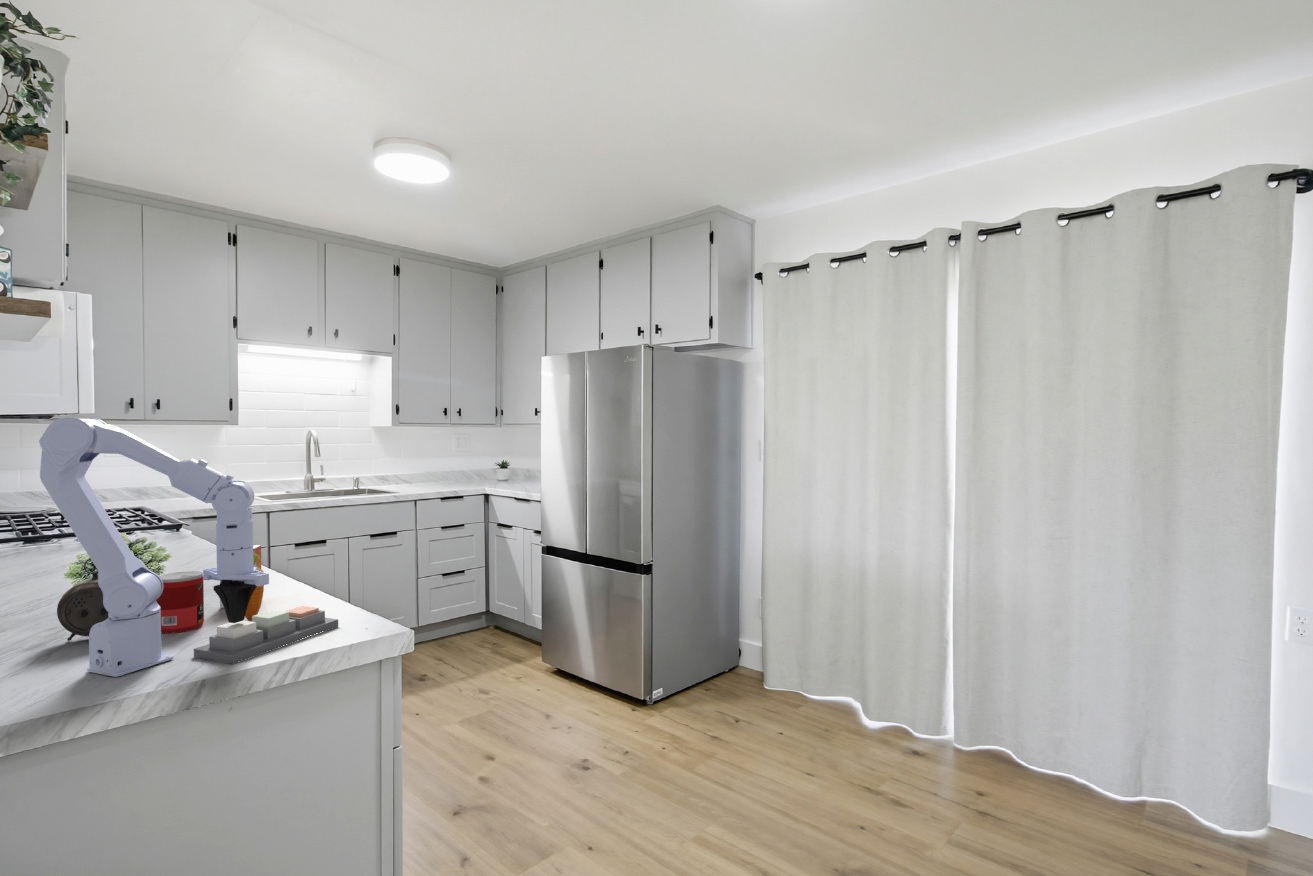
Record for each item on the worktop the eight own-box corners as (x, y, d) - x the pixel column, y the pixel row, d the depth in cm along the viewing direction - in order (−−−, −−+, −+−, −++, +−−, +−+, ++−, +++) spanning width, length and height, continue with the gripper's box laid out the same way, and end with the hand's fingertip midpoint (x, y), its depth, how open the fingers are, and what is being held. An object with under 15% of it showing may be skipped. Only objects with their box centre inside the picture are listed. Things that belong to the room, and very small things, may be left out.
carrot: (252, 626, 139) (250, 554, 139) (231, 624, 140) (230, 553, 140) (270, 619, 144) (269, 549, 144) (250, 618, 145) (249, 549, 145)
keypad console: (233, 664, 117) (232, 644, 117) (193, 657, 121) (193, 637, 121) (338, 626, 139) (338, 609, 139) (302, 621, 142) (302, 605, 142)
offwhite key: (233, 640, 120) (233, 629, 120) (216, 637, 122) (216, 626, 122) (256, 632, 124) (256, 622, 124) (239, 630, 126) (239, 619, 126)
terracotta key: (300, 623, 133) (300, 613, 133) (284, 621, 135) (284, 611, 135) (318, 617, 138) (318, 608, 137) (302, 615, 139) (302, 605, 139)
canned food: (208, 627, 139) (207, 574, 138) (161, 636, 133) (160, 581, 132) (198, 620, 144) (197, 569, 144) (152, 628, 138) (151, 575, 138)
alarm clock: (134, 632, 136) (132, 552, 135) (125, 640, 131) (124, 557, 130) (65, 639, 131) (63, 557, 131) (53, 648, 126) (51, 562, 126)
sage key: (268, 628, 127) (268, 618, 127) (252, 626, 128) (252, 616, 128) (289, 622, 131) (288, 612, 131) (272, 620, 133) (272, 610, 132)
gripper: (283, 546, 124) (284, 619, 124) (228, 541, 129) (229, 611, 129) (247, 553, 117) (249, 630, 118) (191, 548, 123) (192, 621, 123)
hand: (236, 621), depth 123 cm, fingers closed
